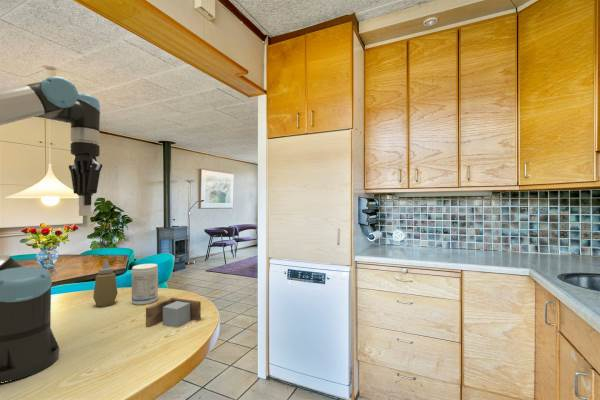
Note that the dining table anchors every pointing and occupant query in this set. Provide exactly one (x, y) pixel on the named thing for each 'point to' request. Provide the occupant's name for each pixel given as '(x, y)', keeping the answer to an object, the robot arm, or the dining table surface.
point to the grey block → (176, 314)
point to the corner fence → (156, 311)
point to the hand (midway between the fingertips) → (85, 215)
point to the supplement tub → (144, 283)
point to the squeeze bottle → (105, 286)
